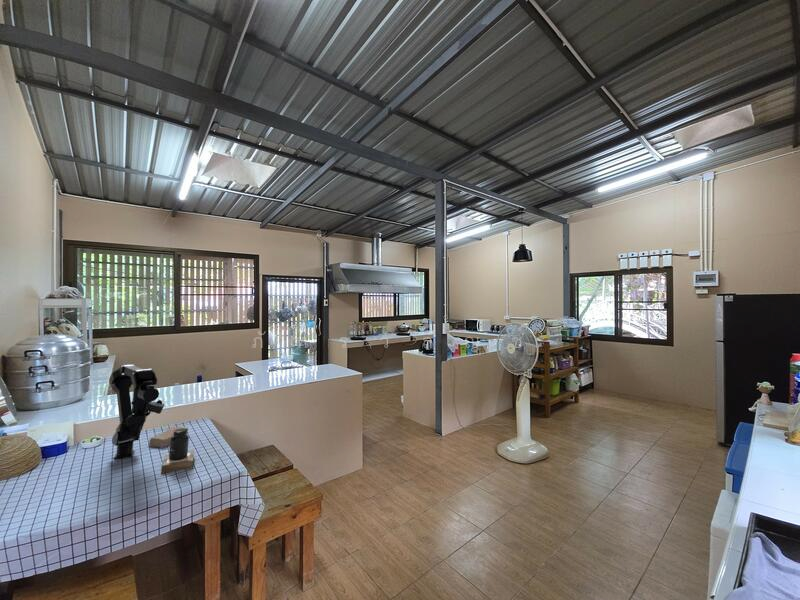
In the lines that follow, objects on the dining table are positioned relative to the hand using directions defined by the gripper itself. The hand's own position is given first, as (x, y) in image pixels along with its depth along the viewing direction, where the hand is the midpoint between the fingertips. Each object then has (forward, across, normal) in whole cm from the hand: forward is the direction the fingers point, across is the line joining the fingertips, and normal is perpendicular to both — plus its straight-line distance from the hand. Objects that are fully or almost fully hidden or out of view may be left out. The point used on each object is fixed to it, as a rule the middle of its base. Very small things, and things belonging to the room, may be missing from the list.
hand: (138, 433), depth 139 cm
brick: (+14, +24, -10) cm, 29 cm away
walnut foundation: (+13, -9, -16) cm, 22 cm away
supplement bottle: (+10, -9, -16) cm, 21 cm away
